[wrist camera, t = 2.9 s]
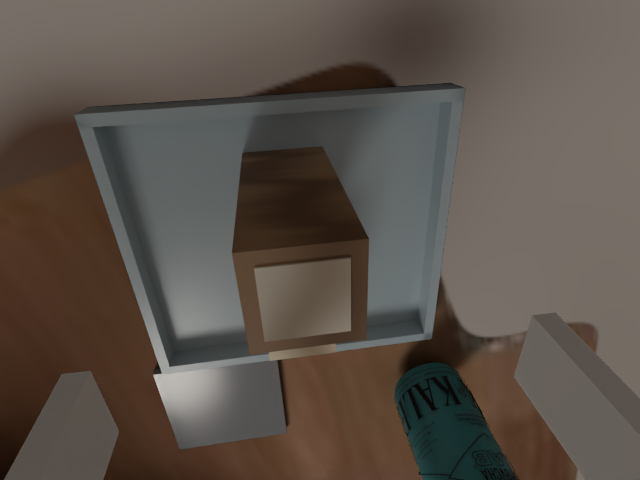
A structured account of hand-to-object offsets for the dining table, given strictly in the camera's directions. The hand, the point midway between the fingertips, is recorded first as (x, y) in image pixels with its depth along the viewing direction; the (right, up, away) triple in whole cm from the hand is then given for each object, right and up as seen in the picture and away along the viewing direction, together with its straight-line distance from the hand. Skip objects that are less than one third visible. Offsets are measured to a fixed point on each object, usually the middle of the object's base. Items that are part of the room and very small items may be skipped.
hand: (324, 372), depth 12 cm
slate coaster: (-9, -10, +23) cm, 27 cm away
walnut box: (-2, +8, +14) cm, 16 cm away
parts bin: (-2, +4, +16) cm, 17 cm away
